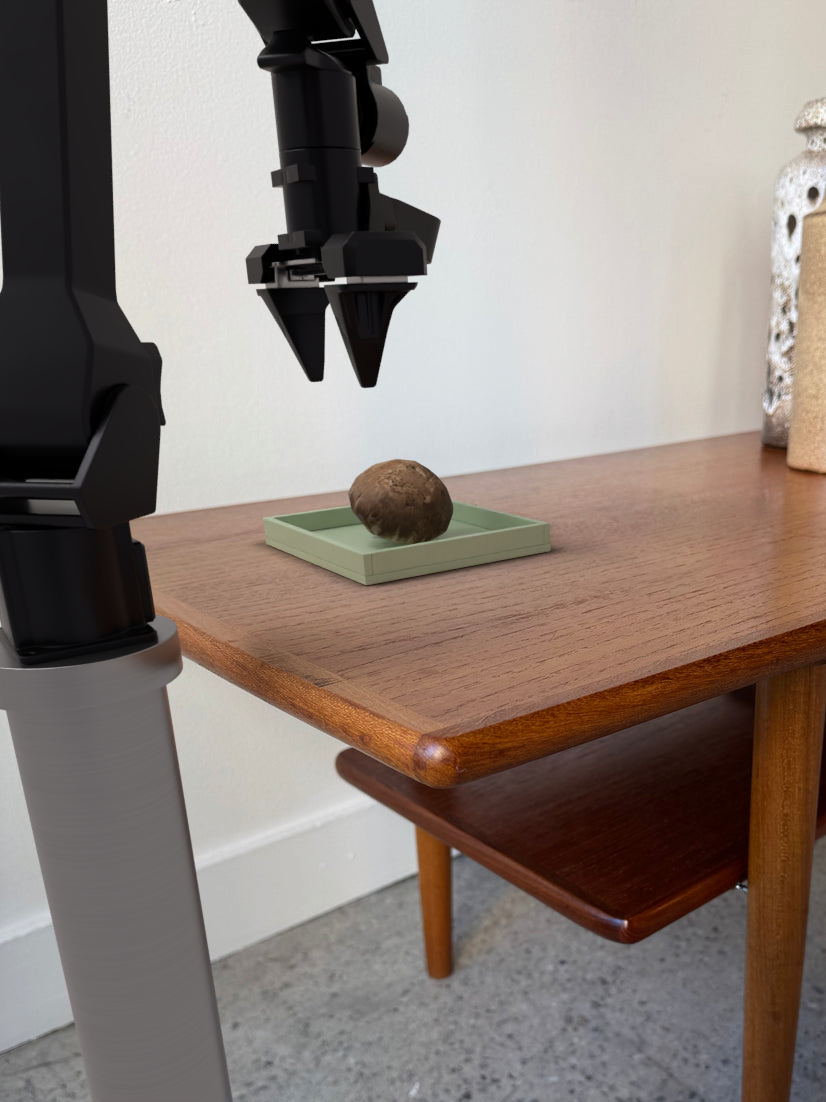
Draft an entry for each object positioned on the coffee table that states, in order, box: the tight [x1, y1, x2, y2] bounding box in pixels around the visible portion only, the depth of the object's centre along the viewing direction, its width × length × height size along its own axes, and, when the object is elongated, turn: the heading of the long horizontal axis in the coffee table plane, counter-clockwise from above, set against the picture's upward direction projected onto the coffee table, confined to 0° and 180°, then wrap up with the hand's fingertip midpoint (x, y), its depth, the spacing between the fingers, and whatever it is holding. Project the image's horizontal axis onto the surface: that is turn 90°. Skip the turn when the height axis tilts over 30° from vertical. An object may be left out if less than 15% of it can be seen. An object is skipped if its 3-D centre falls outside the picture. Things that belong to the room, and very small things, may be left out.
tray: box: [262, 498, 552, 586], centre depth 79 cm, size 15×17×2 cm
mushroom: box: [348, 458, 453, 545], centre depth 78 cm, size 8×8×6 cm
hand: (341, 384), depth 79 cm, fingers open, 9 cm apart
